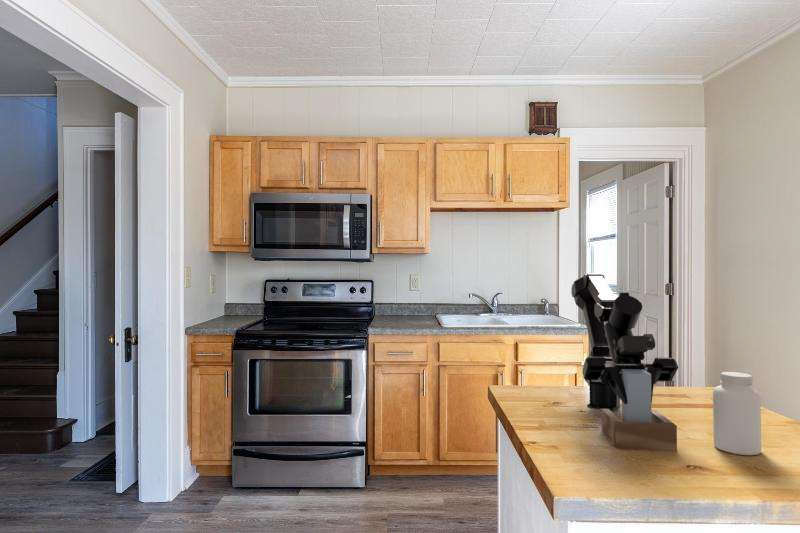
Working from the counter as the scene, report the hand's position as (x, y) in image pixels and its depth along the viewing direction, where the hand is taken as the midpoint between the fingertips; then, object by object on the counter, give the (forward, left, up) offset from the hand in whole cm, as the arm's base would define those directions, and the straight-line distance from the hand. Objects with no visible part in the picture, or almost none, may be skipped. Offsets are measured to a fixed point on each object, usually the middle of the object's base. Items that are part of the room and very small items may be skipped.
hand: (638, 403), depth 103 cm
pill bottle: (+16, +9, -8) cm, 20 cm away
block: (-1, +1, -7) cm, 7 cm away
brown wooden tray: (-1, +1, -8) cm, 8 cm away
